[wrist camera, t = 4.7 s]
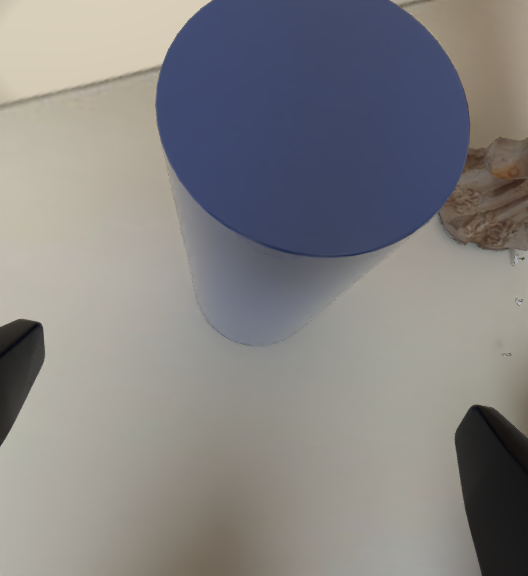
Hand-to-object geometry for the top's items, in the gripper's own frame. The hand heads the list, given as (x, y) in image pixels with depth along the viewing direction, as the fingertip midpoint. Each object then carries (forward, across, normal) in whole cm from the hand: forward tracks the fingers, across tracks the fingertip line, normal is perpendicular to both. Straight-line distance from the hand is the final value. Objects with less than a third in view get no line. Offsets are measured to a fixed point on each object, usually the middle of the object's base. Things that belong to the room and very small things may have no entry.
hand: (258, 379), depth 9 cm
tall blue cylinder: (+12, 0, +5) cm, 13 cm away
